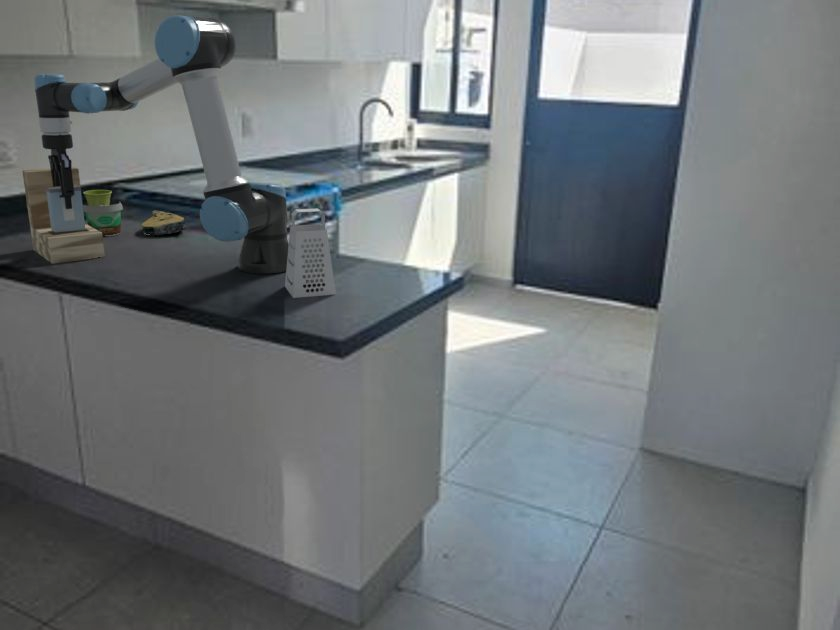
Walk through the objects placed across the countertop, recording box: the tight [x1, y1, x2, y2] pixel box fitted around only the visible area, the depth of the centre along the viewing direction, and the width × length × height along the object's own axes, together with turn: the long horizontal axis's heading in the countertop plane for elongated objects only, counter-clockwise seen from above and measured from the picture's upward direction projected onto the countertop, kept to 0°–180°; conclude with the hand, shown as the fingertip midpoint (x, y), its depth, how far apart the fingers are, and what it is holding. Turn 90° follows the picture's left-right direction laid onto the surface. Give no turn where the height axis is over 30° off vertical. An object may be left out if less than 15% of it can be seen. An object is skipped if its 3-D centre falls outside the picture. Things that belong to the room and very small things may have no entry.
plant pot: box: [83, 189, 113, 206], centre depth 270 cm, size 9×9×9 cm
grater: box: [284, 207, 337, 299], centre depth 185 cm, size 10×10×20 cm
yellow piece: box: [141, 209, 188, 236], centre depth 252 cm, size 14×6×30 cm
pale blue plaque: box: [46, 185, 86, 233], centre depth 212 cm, size 4×8×12 cm, turn 129°
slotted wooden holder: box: [21, 166, 106, 265], centre depth 215 cm, size 20×14×23 cm
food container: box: [83, 201, 124, 236], centre depth 240 cm, size 12×6×10 cm, turn 131°
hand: (67, 218), depth 213 cm, fingers closed on pale blue plaque, 4 cm apart
